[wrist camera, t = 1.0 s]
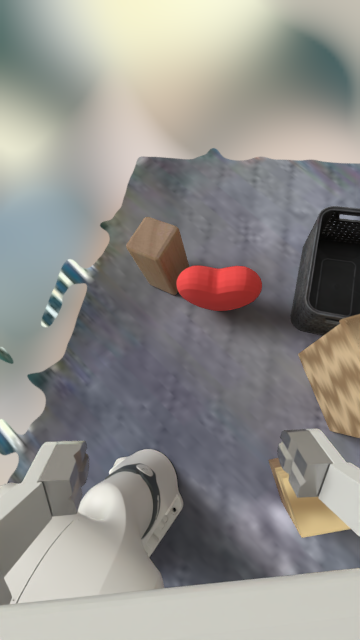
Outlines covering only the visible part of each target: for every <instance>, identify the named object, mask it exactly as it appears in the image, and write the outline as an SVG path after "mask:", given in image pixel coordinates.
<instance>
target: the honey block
mask: <svg viewBox="0 0 360 640" xmlns="http://www.w3.org/2000/svg"><path fill="white" fill-rule="evenodd" d="M275 471H276V474H277V478H278V481H279V484H280V487H281V490H282V493H283V496H284V499H285V502H286V506H287V509H288V512H289V515H290V518H291V519H292V521H293V523H294V525H295V527H296V528H297V530H298V532H299V534H300V535H301V537H302V538H303V537H309V536H314V535H320V534H325V533H331V532H336V531H342V530H347V529H351V528H350V527H349V526H348V525H346V524H345V523H344V522H343V521H342V520H341V519H340V518H339V517H338V516H337V515H336V514H335V513H334V512H333V511H332V510H330V509H329V508H328V507H327V506H326V505H325V504H324V503H323V502H322V501H321V500H320V499H319V498H318V497H302V498H297V496H296V494H295V492H294V490H293V488H292V487H291V485H290V483H289V481H288V480H289V474H288V473H286V472H285V471H284V470H283V469H282V467H277V468H275Z"/></svg>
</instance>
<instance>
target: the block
mask: <svg viewBox="0 0 360 640" xmlns="http://www.w3.org/2000/svg"><path fill="white" fill-rule="evenodd" d="M126 247H127V249H128V251H129V252H130V254H131V256H132V257H133V259H134V260H135V262H136V263H137V265H138V266H139V268H140V270H141V271H142V273H143V274H144V276H145V277H146V279H147V280H148V282H149V283H150V285H152V286H154V287H157V288H159V289H161V290H163V291H166V292H168V293H170V294H172V295H176V294H177V292H178V289H177V284H176V283H177V278H178V276H179V275H180V273H181V272H182V271H183V270H185V269H186V268H188V267H189V264H188V260H187V257H186V253H185V250H184V246H183V242H182V239H181V235H180V232H179V229H178V228H177V227H176V226H174V225H171V224H168V223H165V222H162V221H159V220H156V219H153V218H150V217H145V218H144V219H143V221H142V222H141V224H140V225H139V227H138V228H137V230H136V231H135V233H134V234H133V236H132V237H131V239H130V240H129V242H128V243H127V246H126Z"/></svg>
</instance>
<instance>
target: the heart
mask: <svg viewBox="0 0 360 640" xmlns="http://www.w3.org/2000/svg"><path fill="white" fill-rule="evenodd" d="M176 284H177V289H178V292H179V293H180V295H181V296H182V297H183V298H184V299H186V300H187V301H189V302H190V303H192V304H194V305H196V306H199V307H202V308H205V309H209V310H214V311H227V310H233V309H237V308H240V307H243V306H245V305H247V304H249V303H251V302H253V301H254V300H255V299H256V298H257V297H258V296H259V294H260V292H261V289H262V282H261V279H260V277H259V276H258V274H257V273H256V272H254V271H253V270H251V269H250V268H247V267H243V266H233V267H227V268H222V269H216V268H211V267H206V266H191V267H188V268H186V269H185V270H183V271H182V272H181V273H180V275H179V276H178V278H177V283H176Z"/></svg>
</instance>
